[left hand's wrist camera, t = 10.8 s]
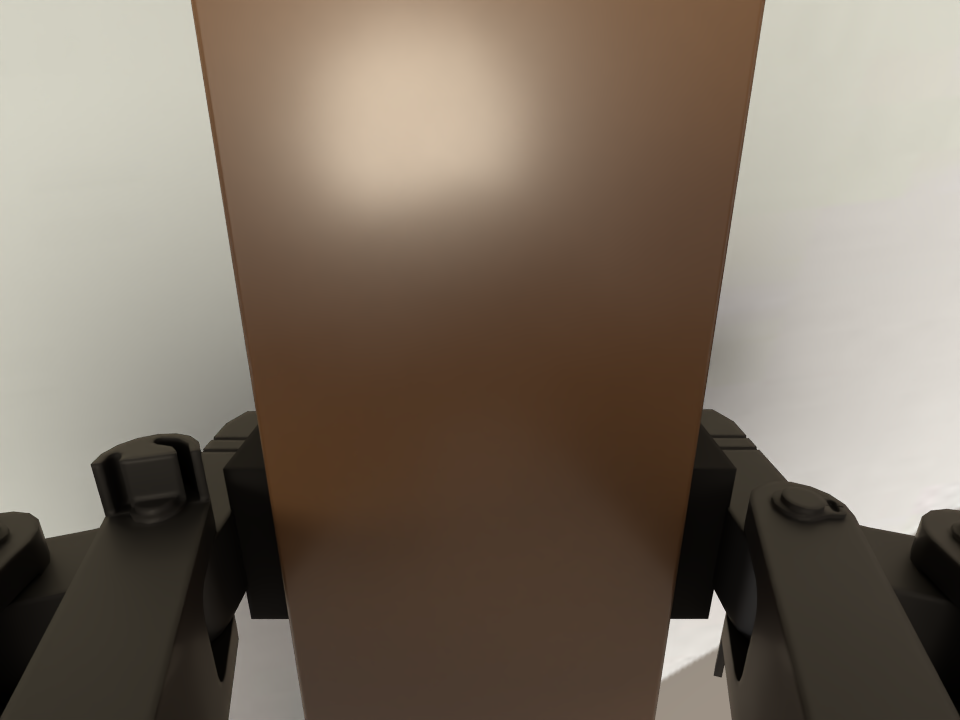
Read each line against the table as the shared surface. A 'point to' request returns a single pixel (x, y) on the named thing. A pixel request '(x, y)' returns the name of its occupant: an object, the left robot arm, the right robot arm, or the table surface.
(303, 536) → the bar
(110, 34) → the table surface
